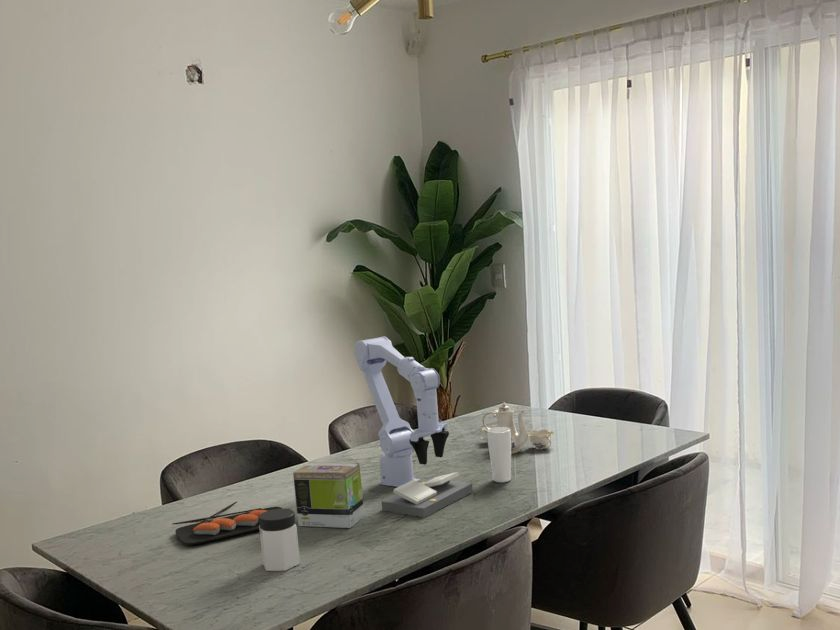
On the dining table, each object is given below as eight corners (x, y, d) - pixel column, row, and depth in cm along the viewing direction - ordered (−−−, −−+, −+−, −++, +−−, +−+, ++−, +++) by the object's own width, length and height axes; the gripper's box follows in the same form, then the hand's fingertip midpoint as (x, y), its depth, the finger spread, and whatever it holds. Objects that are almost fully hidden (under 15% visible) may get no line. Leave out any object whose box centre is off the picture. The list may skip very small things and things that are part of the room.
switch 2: (419, 489, 240) (417, 485, 240) (438, 480, 247) (436, 476, 247) (441, 484, 235) (439, 480, 235) (459, 475, 242) (458, 471, 242)
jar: (284, 554, 206) (279, 505, 204) (307, 561, 200) (303, 511, 199) (254, 567, 199) (249, 517, 198) (277, 575, 194) (272, 523, 192)
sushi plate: (185, 552, 213) (183, 537, 213) (161, 519, 240) (160, 506, 240) (297, 526, 227) (296, 512, 226) (262, 497, 253) (261, 485, 253)
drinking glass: (512, 483, 247) (509, 432, 245) (489, 484, 248) (485, 432, 247) (514, 476, 253) (511, 426, 252) (491, 476, 255) (488, 427, 253)
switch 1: (393, 492, 231) (393, 488, 231) (413, 482, 238) (414, 479, 238) (416, 504, 227) (417, 501, 226) (436, 494, 234) (437, 490, 234)
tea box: (365, 516, 229) (360, 461, 227) (350, 529, 219) (345, 473, 218) (314, 513, 234) (309, 460, 232) (296, 527, 224) (291, 471, 223)
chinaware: (561, 450, 284) (560, 399, 284) (540, 458, 270) (539, 405, 270) (485, 444, 299) (484, 396, 299) (461, 451, 285) (461, 401, 284)
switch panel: (382, 510, 232) (381, 498, 232) (432, 485, 250) (431, 475, 250) (424, 517, 224) (423, 505, 223) (472, 492, 242) (472, 480, 242)
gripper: (423, 419, 233) (427, 468, 235) (454, 408, 244) (457, 455, 246) (403, 417, 237) (406, 466, 239) (434, 406, 249) (437, 452, 250)
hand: (431, 460), depth 243 cm, fingers open, 7 cm apart
